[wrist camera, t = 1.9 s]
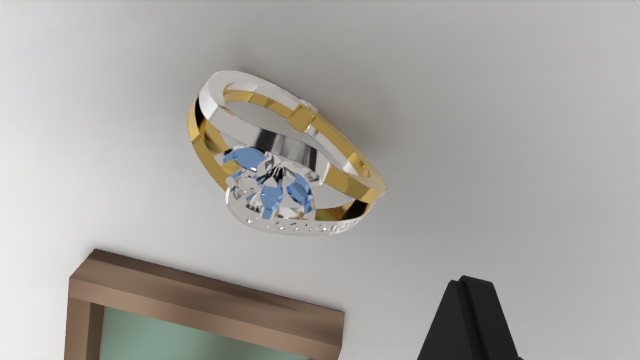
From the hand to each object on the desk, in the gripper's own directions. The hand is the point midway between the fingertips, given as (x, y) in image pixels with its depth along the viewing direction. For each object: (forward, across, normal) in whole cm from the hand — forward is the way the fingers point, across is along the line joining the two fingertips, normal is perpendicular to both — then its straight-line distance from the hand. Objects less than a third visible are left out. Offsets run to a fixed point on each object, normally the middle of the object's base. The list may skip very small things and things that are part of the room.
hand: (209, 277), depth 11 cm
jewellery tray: (+12, +1, +16) cm, 21 cm away
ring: (+13, -1, 0) cm, 13 cm away
